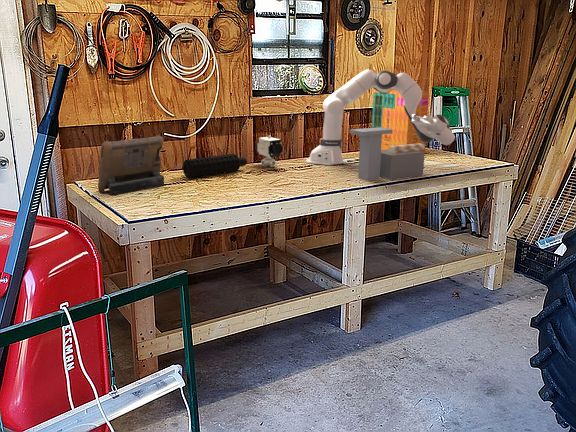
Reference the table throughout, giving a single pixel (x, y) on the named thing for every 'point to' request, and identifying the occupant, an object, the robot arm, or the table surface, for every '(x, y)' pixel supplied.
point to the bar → (406, 148)
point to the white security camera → (269, 150)
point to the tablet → (130, 165)
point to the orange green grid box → (396, 118)
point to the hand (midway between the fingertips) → (418, 116)
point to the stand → (370, 151)
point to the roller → (212, 165)
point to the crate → (401, 164)
